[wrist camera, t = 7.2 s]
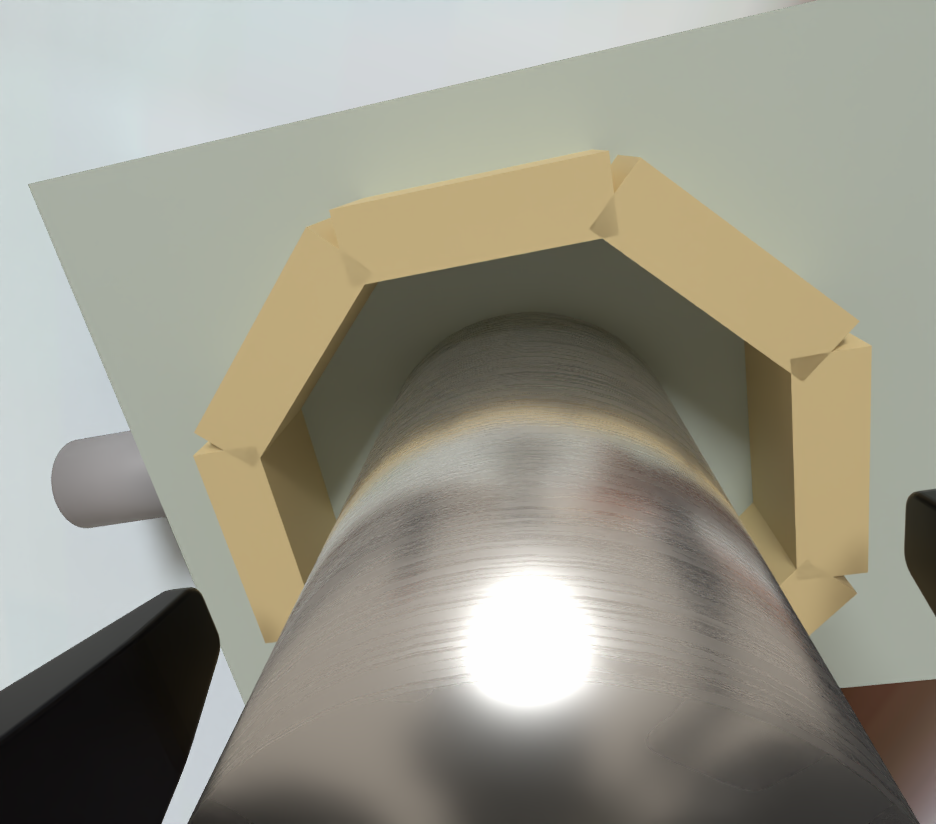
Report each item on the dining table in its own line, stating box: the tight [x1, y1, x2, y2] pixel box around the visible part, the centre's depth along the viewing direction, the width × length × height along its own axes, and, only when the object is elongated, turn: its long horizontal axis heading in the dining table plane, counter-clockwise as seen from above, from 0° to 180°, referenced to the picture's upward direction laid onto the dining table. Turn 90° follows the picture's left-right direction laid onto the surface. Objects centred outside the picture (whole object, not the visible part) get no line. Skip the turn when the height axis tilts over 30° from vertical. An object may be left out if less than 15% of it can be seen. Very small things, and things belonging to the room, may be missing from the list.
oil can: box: [188, 312, 919, 824], centre depth 7 cm, size 5×5×10 cm
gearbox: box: [28, 0, 936, 706], centre depth 13 cm, size 17×12×6 cm
